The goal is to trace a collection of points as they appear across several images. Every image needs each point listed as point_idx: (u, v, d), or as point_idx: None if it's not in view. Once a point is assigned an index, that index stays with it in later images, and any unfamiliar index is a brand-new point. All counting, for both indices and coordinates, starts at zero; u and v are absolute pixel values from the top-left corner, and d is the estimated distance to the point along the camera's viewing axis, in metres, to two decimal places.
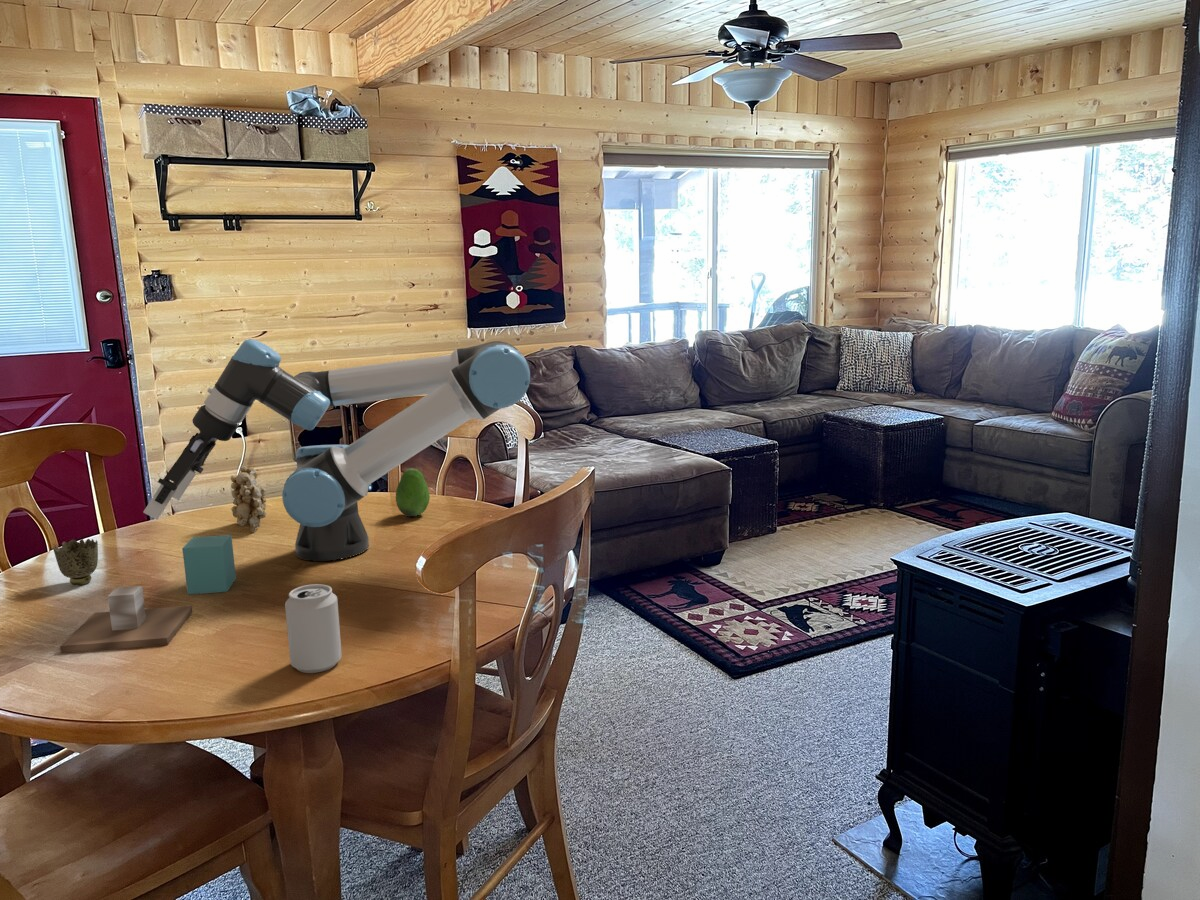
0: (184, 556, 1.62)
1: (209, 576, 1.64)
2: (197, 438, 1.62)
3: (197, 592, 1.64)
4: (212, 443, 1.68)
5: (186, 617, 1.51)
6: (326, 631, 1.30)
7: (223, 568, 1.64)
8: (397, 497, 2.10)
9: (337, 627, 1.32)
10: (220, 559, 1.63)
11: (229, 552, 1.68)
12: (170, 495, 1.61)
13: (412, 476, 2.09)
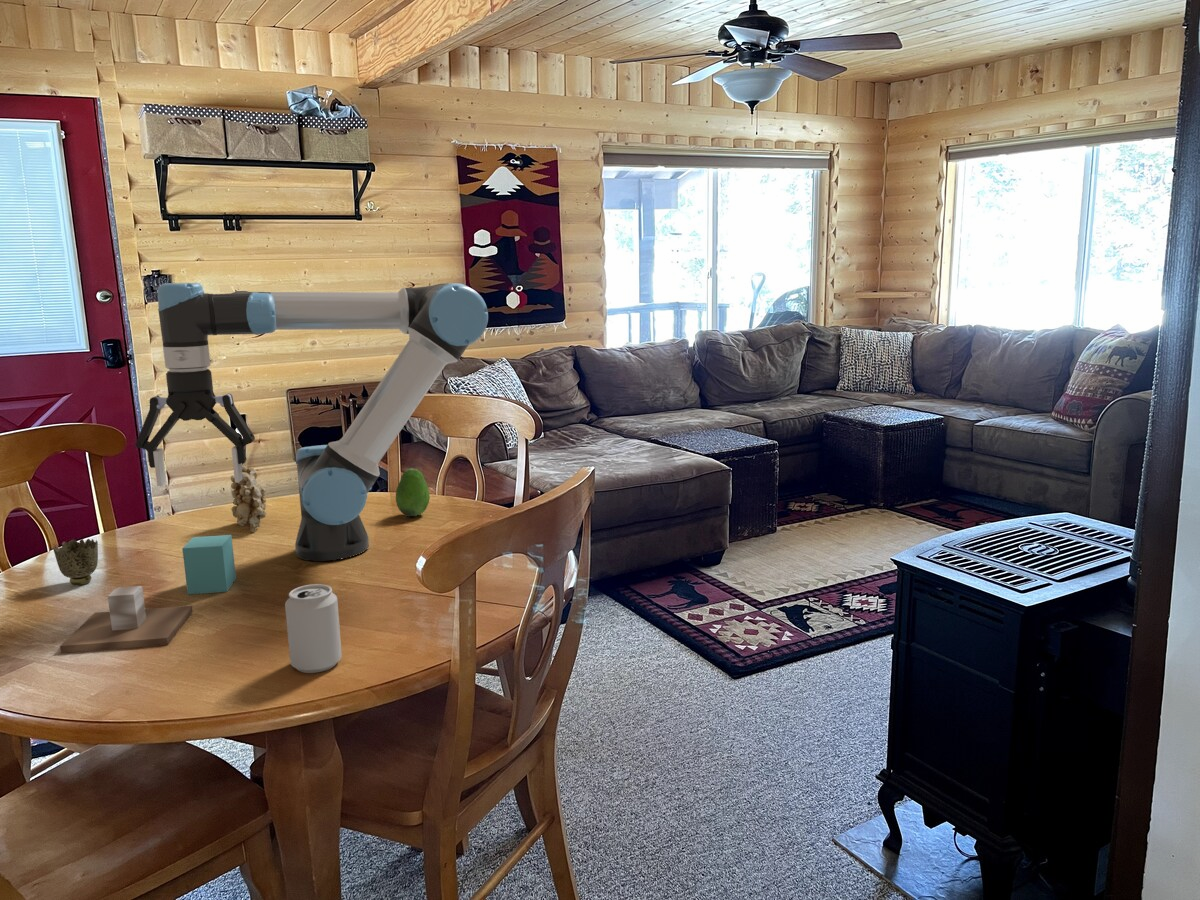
0: (184, 556, 1.62)
1: (209, 576, 1.64)
2: (213, 397, 1.60)
3: (197, 592, 1.64)
4: None
5: (186, 617, 1.51)
6: (326, 631, 1.30)
7: (223, 568, 1.64)
8: (397, 497, 2.10)
9: (337, 627, 1.32)
10: (220, 559, 1.63)
11: (229, 552, 1.68)
12: None
13: (412, 476, 2.09)
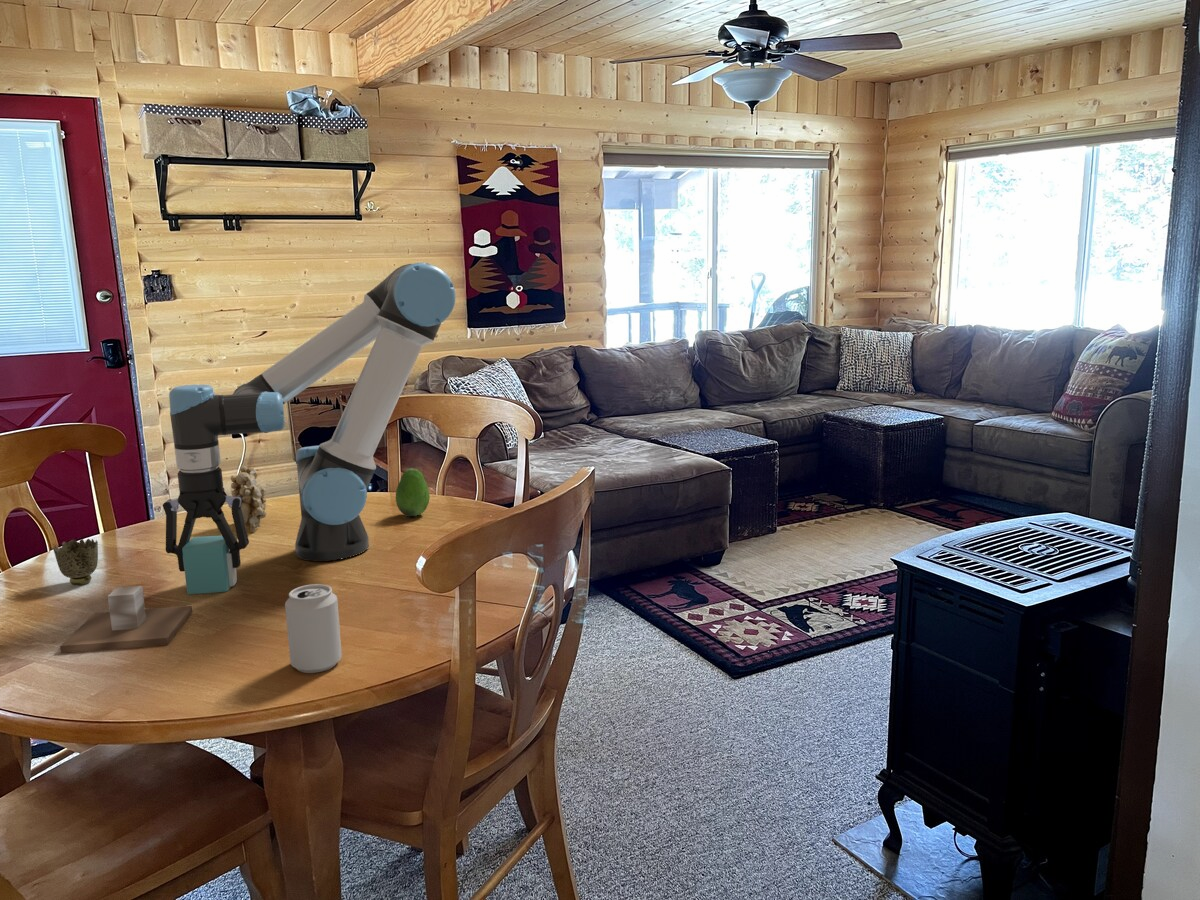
0: (184, 556, 1.62)
1: (209, 576, 1.64)
2: (224, 496, 1.64)
3: (197, 592, 1.64)
4: None
5: (186, 617, 1.51)
6: (326, 631, 1.30)
7: (223, 568, 1.64)
8: (397, 497, 2.10)
9: (337, 627, 1.32)
10: (220, 559, 1.63)
11: None
12: None
13: (412, 476, 2.09)
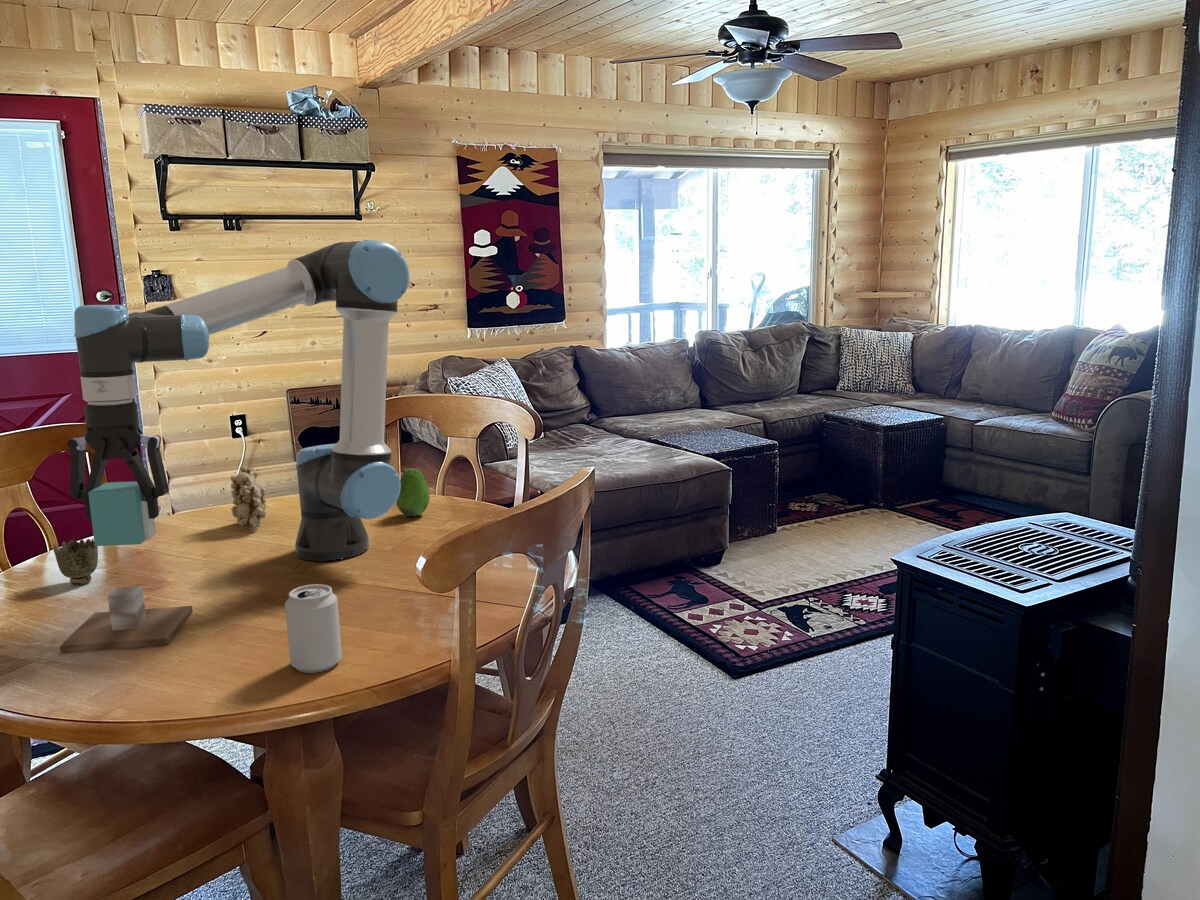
0: (90, 501, 1.41)
1: (120, 526, 1.42)
2: (139, 435, 1.42)
3: (106, 544, 1.42)
4: None
5: (186, 617, 1.51)
6: (326, 631, 1.30)
7: (136, 517, 1.42)
8: None
9: (337, 627, 1.32)
10: (132, 506, 1.42)
11: None
12: None
13: (412, 476, 2.09)
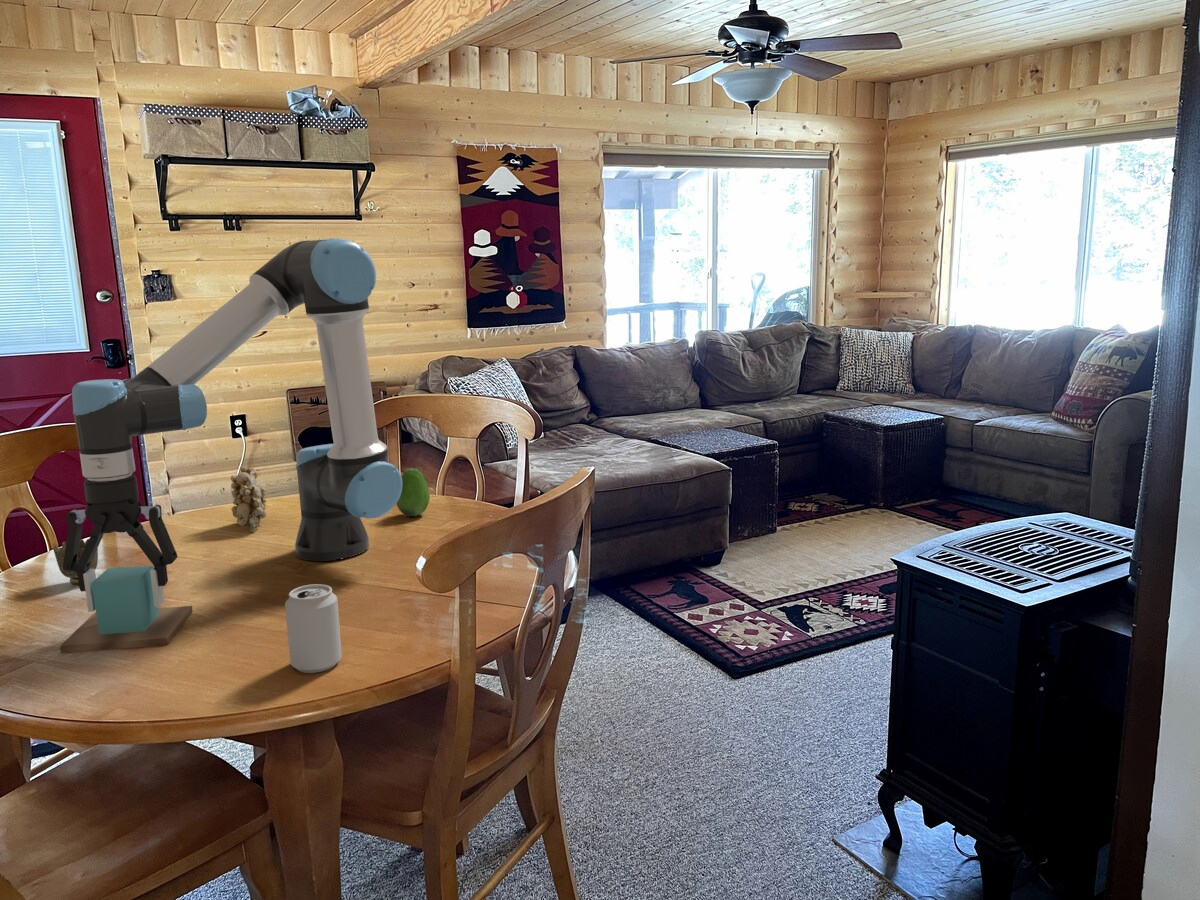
0: (94, 591, 1.41)
1: (124, 614, 1.43)
2: (139, 507, 1.43)
3: (110, 632, 1.43)
4: None
5: (186, 617, 1.51)
6: (326, 631, 1.30)
7: (140, 605, 1.43)
8: None
9: (337, 627, 1.32)
10: (136, 595, 1.43)
11: (149, 585, 1.47)
12: None
13: (412, 476, 2.09)
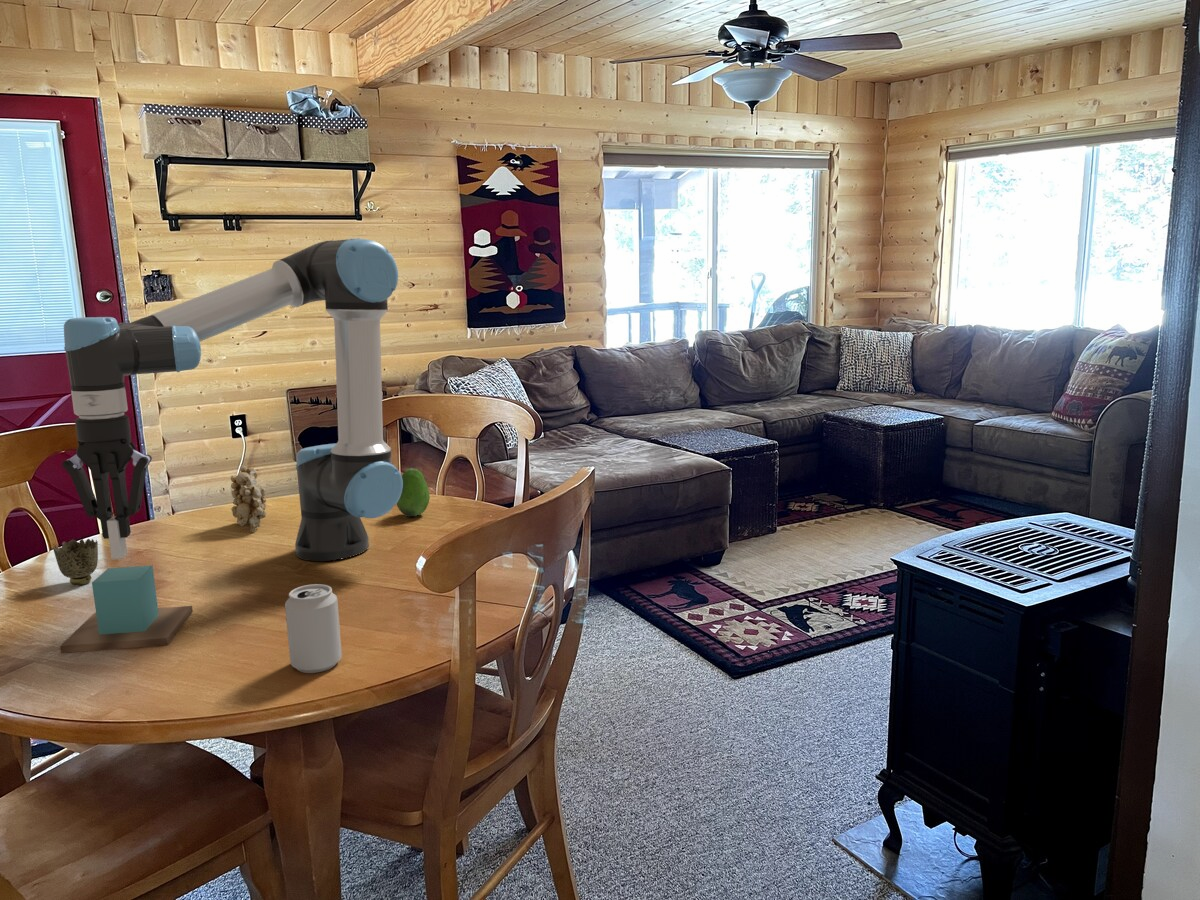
0: (94, 591, 1.41)
1: (124, 614, 1.43)
2: (132, 451, 1.41)
3: (110, 632, 1.43)
4: None
5: (186, 617, 1.51)
6: (326, 631, 1.30)
7: (140, 605, 1.43)
8: None
9: (337, 627, 1.32)
10: (136, 595, 1.43)
11: (149, 585, 1.47)
12: None
13: (412, 476, 2.09)
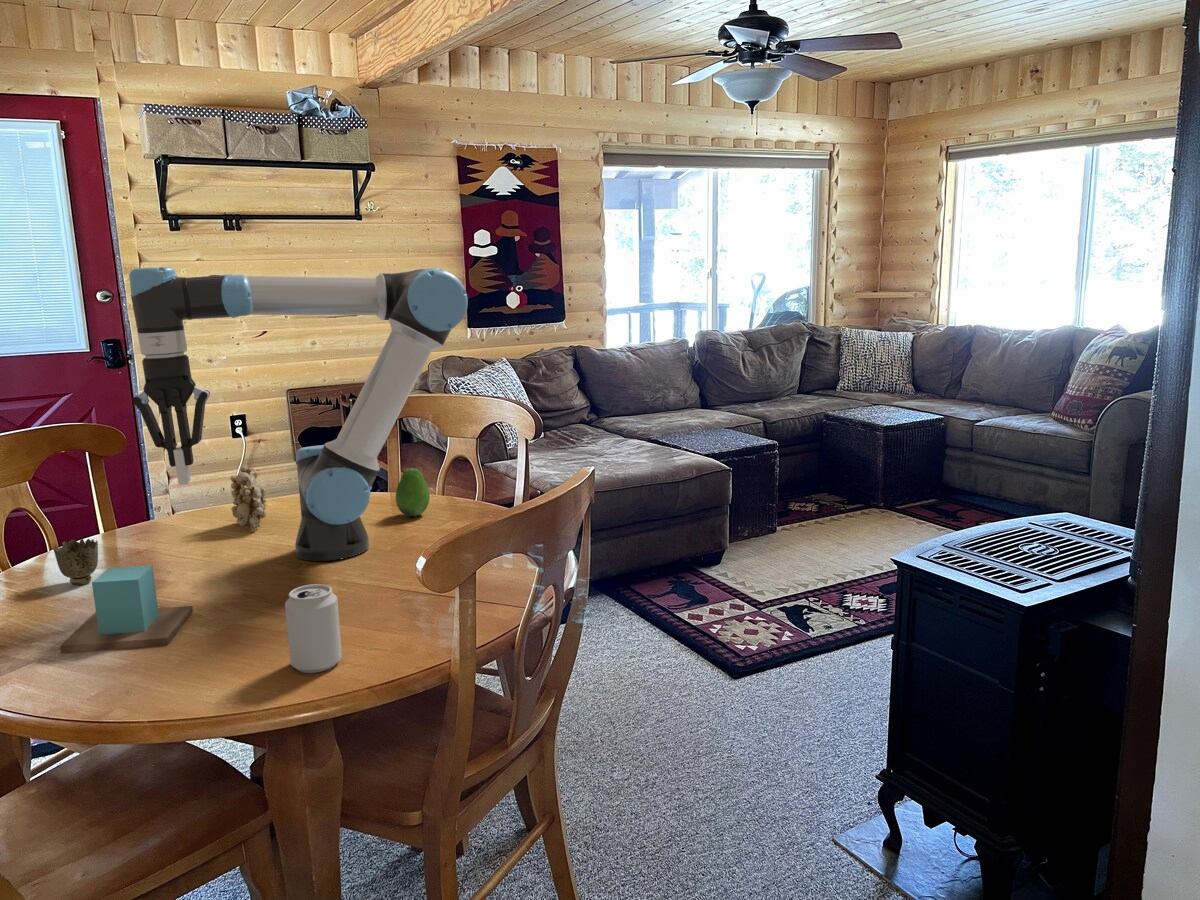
0: (94, 591, 1.41)
1: (124, 614, 1.43)
2: (193, 386, 1.58)
3: (110, 632, 1.43)
4: None
5: (186, 617, 1.51)
6: (326, 631, 1.30)
7: (140, 605, 1.43)
8: (397, 497, 2.10)
9: (337, 627, 1.32)
10: (136, 595, 1.43)
11: (149, 585, 1.47)
12: None
13: (412, 476, 2.09)
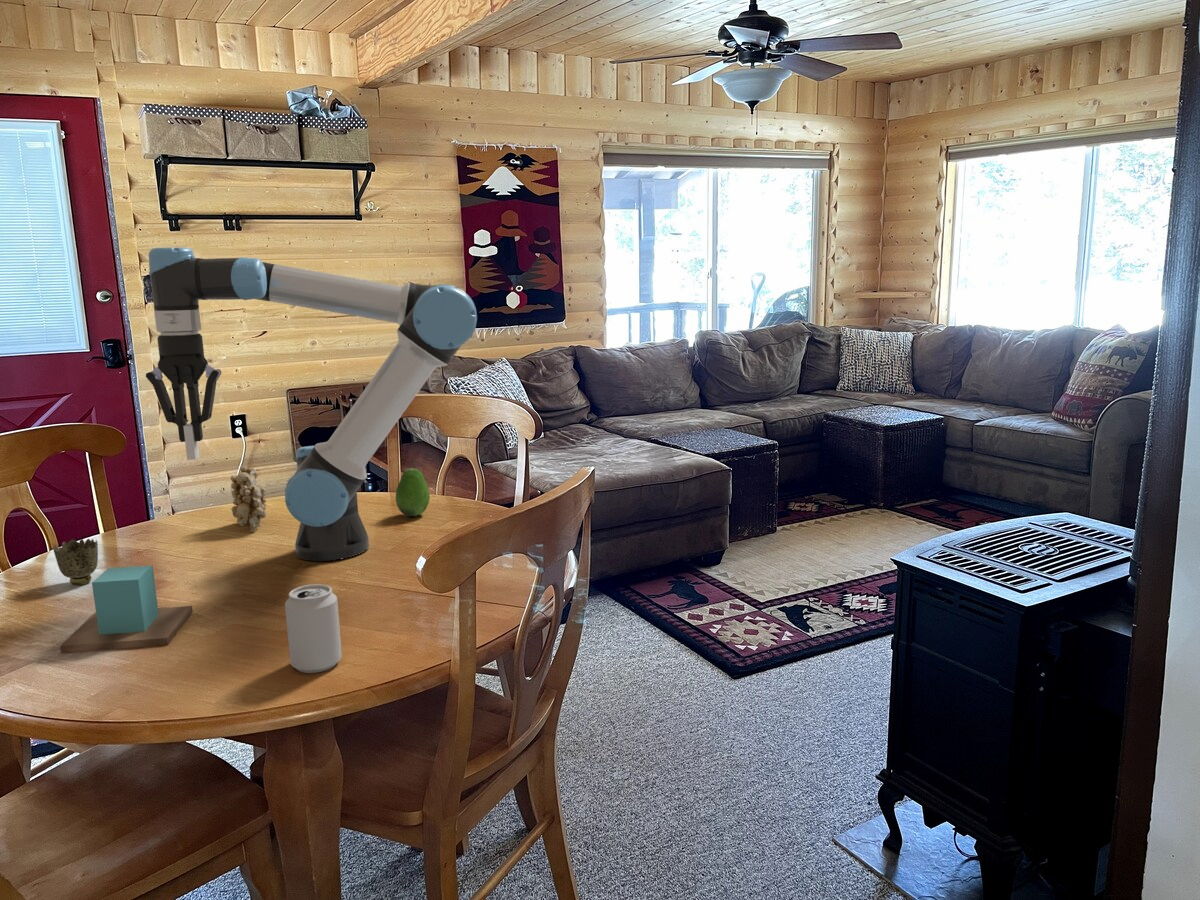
0: (94, 591, 1.41)
1: (124, 614, 1.43)
2: (205, 364, 1.63)
3: (110, 632, 1.43)
4: None
5: (186, 617, 1.51)
6: (326, 631, 1.30)
7: (140, 605, 1.43)
8: (397, 497, 2.10)
9: (337, 627, 1.32)
10: (136, 595, 1.43)
11: (149, 585, 1.47)
12: None
13: (412, 476, 2.09)
